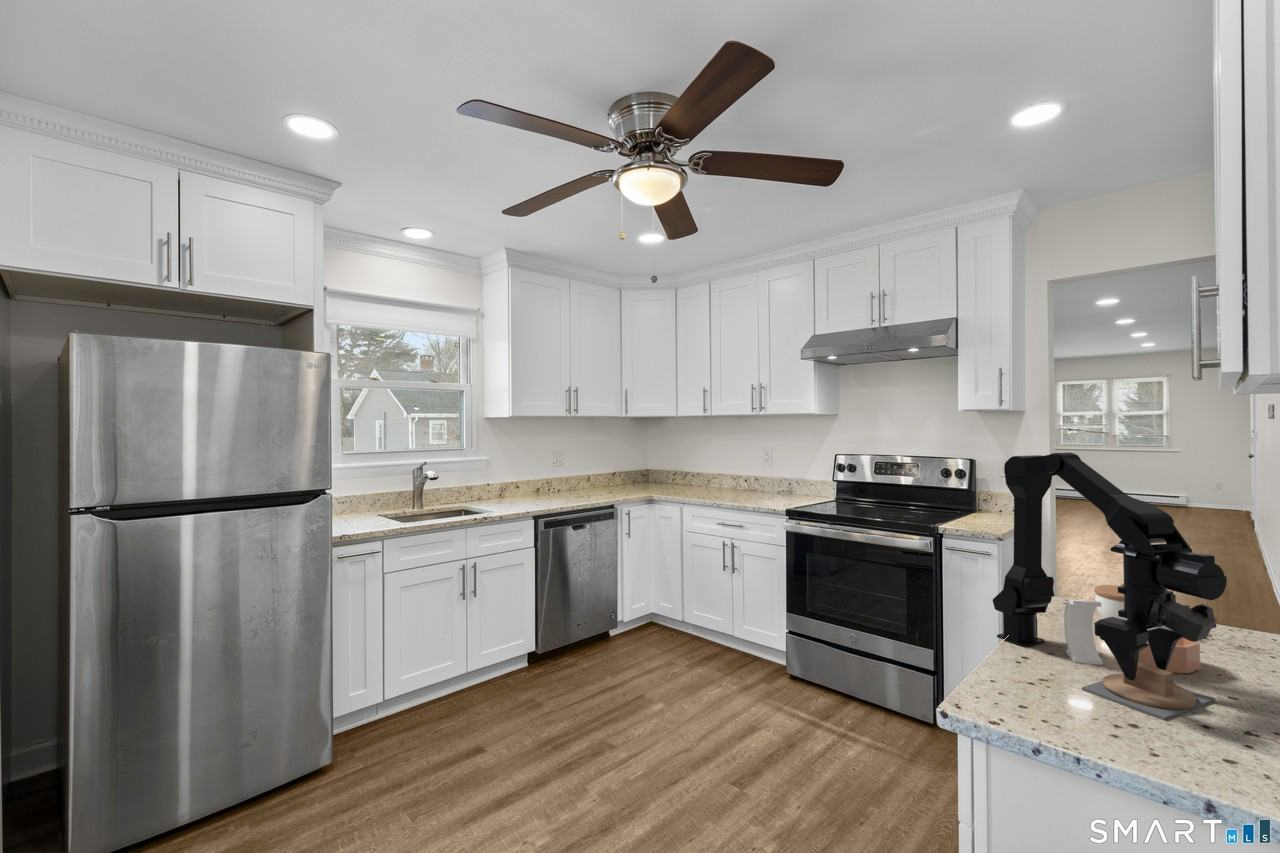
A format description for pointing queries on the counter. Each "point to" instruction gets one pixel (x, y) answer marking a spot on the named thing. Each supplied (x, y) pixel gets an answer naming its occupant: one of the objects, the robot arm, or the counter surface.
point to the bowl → (1176, 657)
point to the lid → (1150, 689)
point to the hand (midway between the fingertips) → (1146, 674)
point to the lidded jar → (1109, 600)
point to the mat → (1156, 712)
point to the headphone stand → (1081, 631)
